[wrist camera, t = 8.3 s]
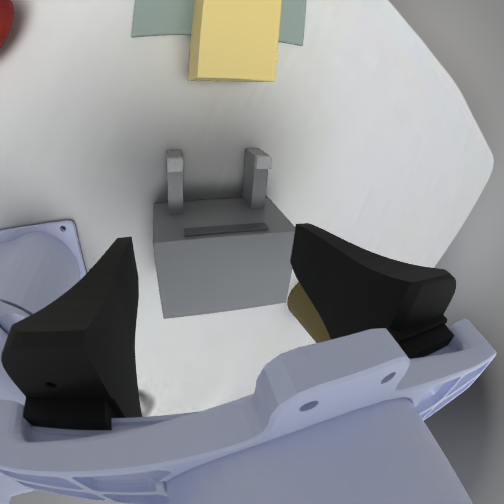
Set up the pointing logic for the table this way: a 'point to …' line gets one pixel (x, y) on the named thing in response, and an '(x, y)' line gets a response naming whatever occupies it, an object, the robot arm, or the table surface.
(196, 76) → the tall tan block
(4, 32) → the onion
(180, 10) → the mat
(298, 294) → the cork
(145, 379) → the table surface
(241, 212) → the grey boxy piece
